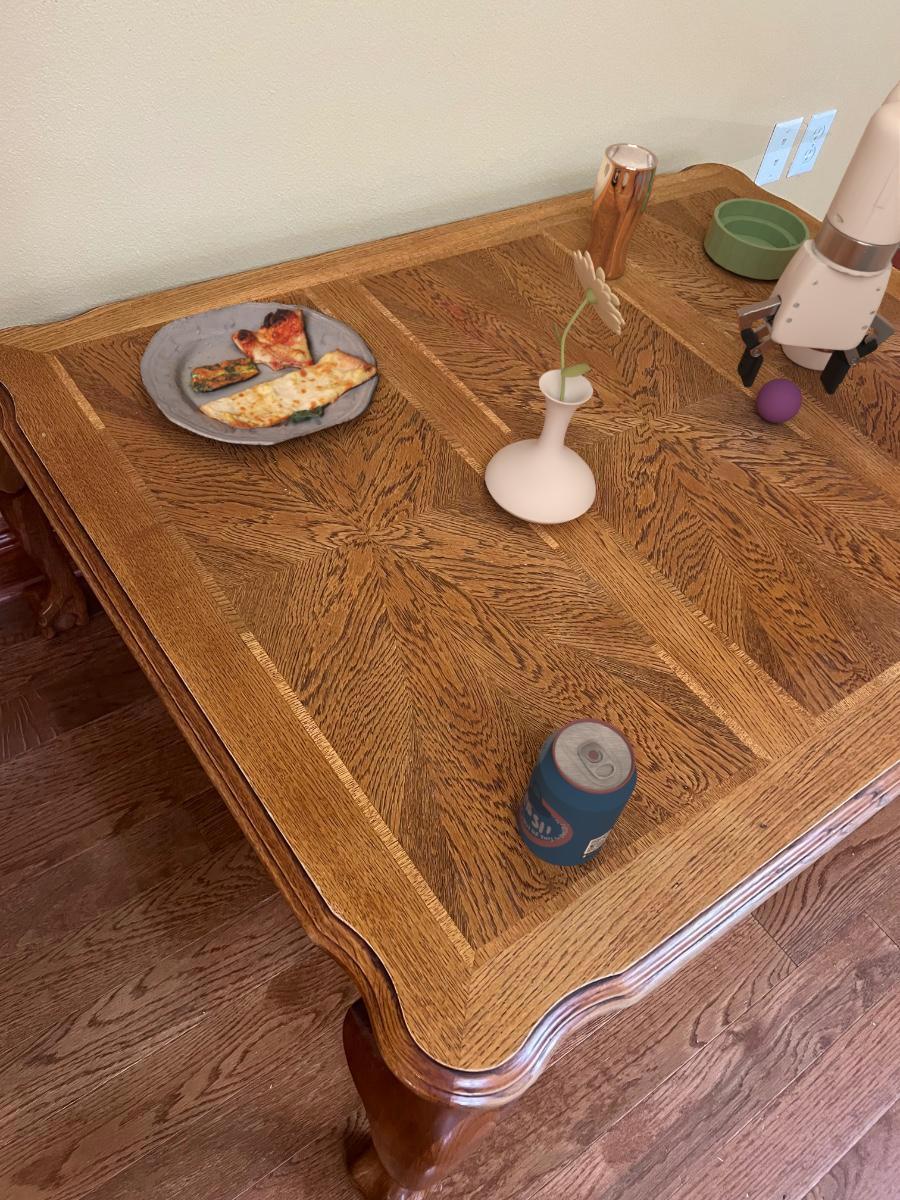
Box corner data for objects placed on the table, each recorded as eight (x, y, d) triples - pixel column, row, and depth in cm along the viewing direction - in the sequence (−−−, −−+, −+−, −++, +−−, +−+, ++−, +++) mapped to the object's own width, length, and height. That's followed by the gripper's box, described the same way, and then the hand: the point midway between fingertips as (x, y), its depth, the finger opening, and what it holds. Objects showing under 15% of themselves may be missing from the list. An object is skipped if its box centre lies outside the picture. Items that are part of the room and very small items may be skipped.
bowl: (781, 235, 137) (795, 202, 133) (806, 287, 128) (821, 254, 124) (694, 227, 135) (705, 194, 131) (713, 279, 127) (726, 245, 123)
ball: (785, 405, 111) (802, 371, 107) (796, 433, 108) (814, 399, 104) (744, 402, 110) (760, 367, 107) (755, 430, 107) (771, 396, 103)
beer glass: (568, 254, 126) (594, 142, 115) (615, 251, 128) (645, 141, 117) (588, 283, 123) (617, 171, 111) (635, 280, 124) (669, 169, 113)
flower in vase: (597, 538, 93) (672, 324, 74) (484, 530, 92) (530, 310, 73) (584, 450, 102) (649, 236, 82) (480, 441, 101) (521, 222, 81)
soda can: (497, 814, 73) (524, 735, 64) (567, 776, 76) (603, 695, 67) (547, 889, 70) (584, 817, 61) (619, 847, 73) (665, 772, 63)
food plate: (312, 298, 113) (312, 272, 111) (417, 412, 102) (420, 386, 100) (110, 352, 103) (105, 325, 100) (203, 486, 92) (200, 459, 89)
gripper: (923, 231, 95) (847, 369, 109) (762, 213, 93) (704, 356, 106) (951, 272, 91) (868, 411, 104) (782, 254, 89) (718, 398, 102)
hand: (785, 383), depth 105 cm, fingers open, 9 cm apart
